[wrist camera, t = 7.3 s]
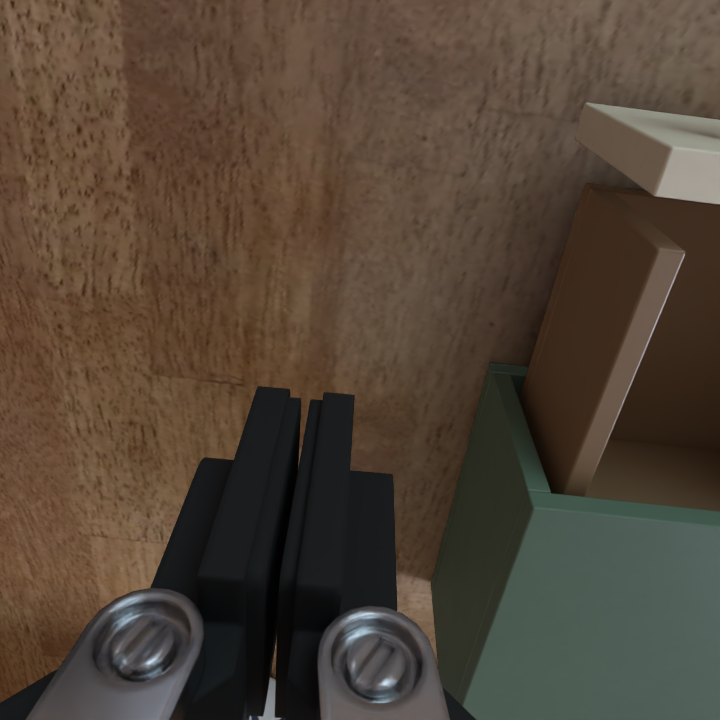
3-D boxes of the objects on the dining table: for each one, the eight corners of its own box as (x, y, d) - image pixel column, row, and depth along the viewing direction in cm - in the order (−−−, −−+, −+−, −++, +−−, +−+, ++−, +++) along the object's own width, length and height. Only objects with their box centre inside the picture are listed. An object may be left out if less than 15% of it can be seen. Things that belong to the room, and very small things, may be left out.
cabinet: (488, 362, 26) (533, 507, 19) (769, 394, 27) (922, 548, 19) (430, 583, 34) (445, 752, 26) (650, 605, 34) (727, 777, 27)
